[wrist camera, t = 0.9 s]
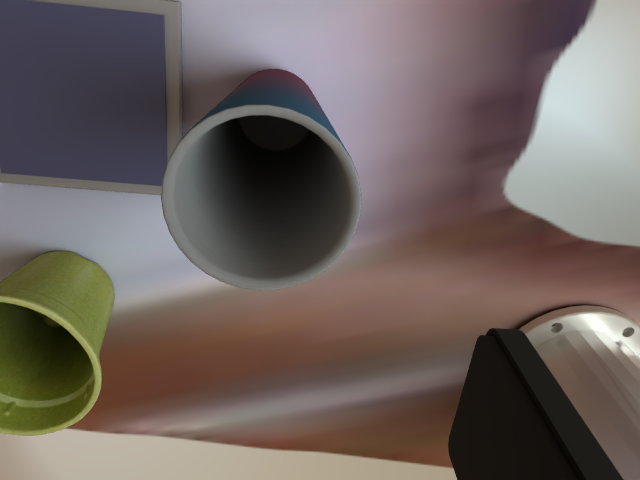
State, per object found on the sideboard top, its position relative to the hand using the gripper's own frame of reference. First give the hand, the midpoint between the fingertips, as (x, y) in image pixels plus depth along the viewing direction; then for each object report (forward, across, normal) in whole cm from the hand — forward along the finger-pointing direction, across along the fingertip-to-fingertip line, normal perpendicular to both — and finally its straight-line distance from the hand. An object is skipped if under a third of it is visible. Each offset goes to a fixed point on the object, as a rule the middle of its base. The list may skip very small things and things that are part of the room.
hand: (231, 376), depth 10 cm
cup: (+24, 0, 0) cm, 24 cm away
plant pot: (+24, +13, +14) cm, 30 cm away
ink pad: (+24, +11, 0) cm, 26 cm away
